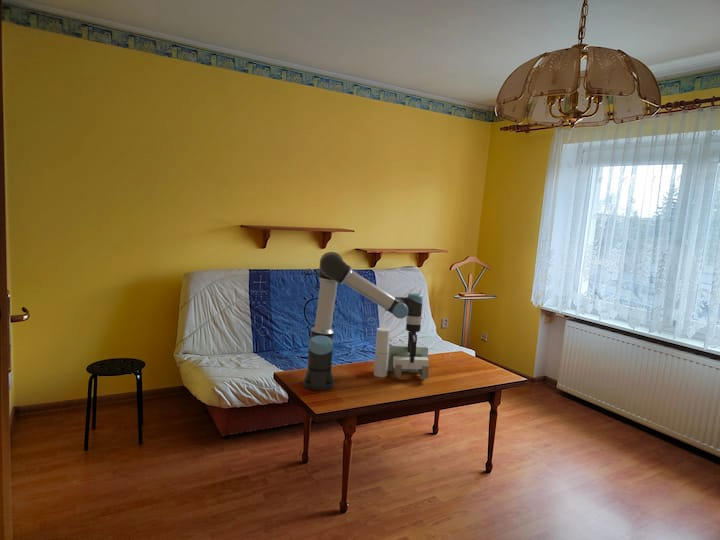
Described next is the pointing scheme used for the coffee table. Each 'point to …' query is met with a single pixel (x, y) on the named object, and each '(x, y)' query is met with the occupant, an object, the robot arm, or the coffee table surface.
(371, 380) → the coffee table surface
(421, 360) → the rail
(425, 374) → the cup bracket
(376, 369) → the cylindrical container
